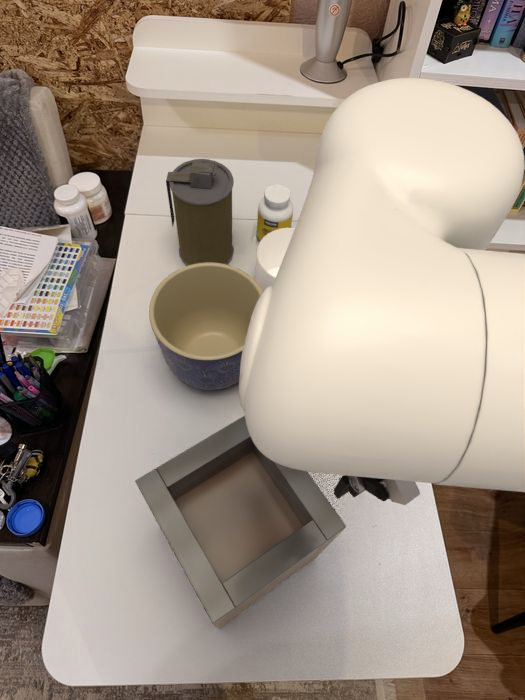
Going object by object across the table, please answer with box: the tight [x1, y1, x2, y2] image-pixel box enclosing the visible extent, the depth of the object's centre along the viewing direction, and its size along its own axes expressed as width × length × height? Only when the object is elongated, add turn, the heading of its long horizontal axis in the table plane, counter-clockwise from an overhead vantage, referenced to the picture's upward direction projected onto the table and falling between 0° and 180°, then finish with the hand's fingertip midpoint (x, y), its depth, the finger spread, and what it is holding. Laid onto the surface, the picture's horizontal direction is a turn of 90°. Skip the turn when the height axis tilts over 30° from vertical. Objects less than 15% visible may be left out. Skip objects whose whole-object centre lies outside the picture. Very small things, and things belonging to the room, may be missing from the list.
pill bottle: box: [256, 183, 294, 243], centre depth 96 cm, size 6×6×12 cm
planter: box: [148, 262, 263, 391], centre depth 80 cm, size 17×17×15 cm
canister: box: [165, 158, 235, 267], centre depth 89 cm, size 11×10×20 cm
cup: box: [254, 227, 295, 291], centre depth 88 cm, size 12×12×12 cm
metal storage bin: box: [134, 415, 347, 630], centre depth 63 cm, size 16×16×22 cm
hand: (314, 437), depth 43 cm, fingers open, 9 cm apart
